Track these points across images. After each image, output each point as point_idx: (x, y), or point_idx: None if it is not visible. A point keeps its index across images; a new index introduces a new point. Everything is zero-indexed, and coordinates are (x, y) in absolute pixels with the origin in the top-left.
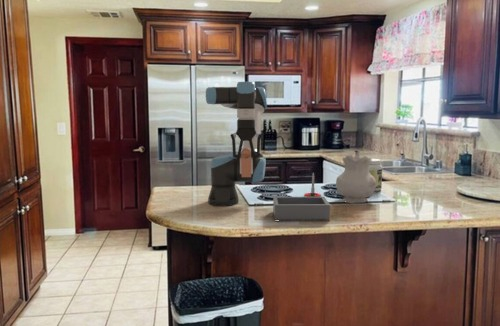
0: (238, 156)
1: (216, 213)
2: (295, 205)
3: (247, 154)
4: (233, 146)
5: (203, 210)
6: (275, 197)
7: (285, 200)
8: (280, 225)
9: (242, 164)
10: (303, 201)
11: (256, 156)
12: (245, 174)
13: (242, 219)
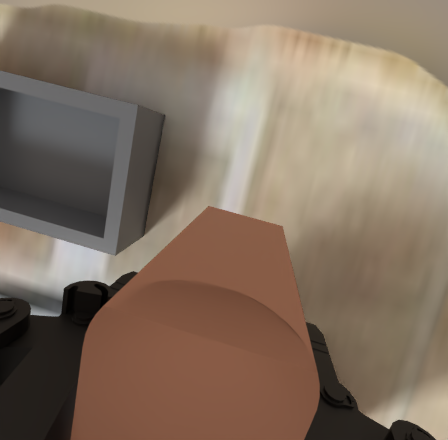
0: (336, 408)
1: (349, 276)
2: (51, 83)
3: (180, 322)
4: None
5: (387, 328)
6: (109, 241)
7: (77, 225)
8: (156, 58)
9: (279, 265)
10: (14, 204)
11: (40, 325)
12: (250, 222)
13: (274, 172)
